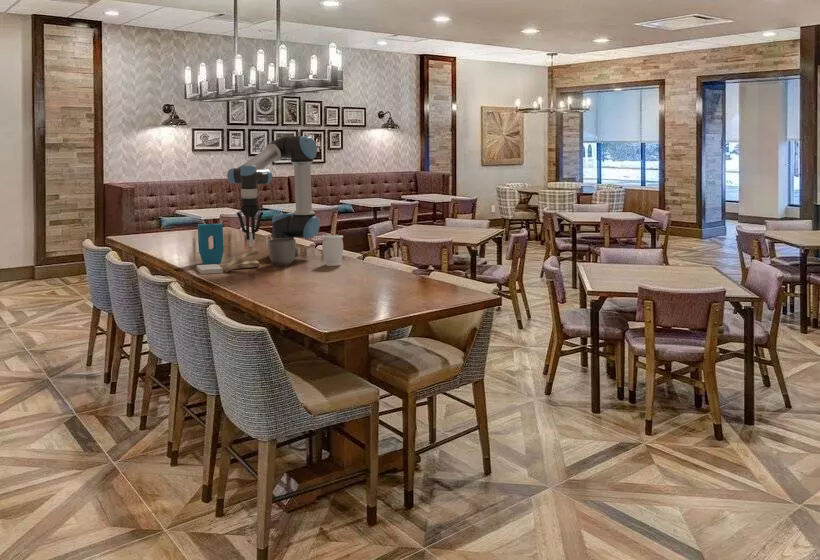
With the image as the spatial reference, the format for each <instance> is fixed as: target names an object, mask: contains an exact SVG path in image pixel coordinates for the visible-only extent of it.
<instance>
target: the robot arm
mask: <svg viewBox="0 0 820 560" xmlns="http://www.w3.org/2000/svg"><path fill="white" fill-rule="evenodd" d="M317 154H318V147H317V143H316V141H315V140H314V138H313V137H311V136H307V135H284V136H281V137H279V138H277V139H275V140H273V141H271V142H270V143H268V144H267V145H266V146H265V148H264V149H263V150H262V151H260V152H258V153H257V154H256V155H254V156H253V157H252V158H250V159H249V160H247V161H246V162H244V163H243V164H242V165H240V166H239V167H233V168H230V169H228V171H227V173H226V177H227V180H228V183H230V184H236V185H240V192H241V193H240V194H241V195H240V196H241V200H240V201H241V208H240V210H239V211H238V212H235V214H236V216H237V217H238V221H239V224H240V227H241V231H242V232H243V233H245V236H246V237H245V238H246V240H247V241H248V247H249V248H251V247H252V248H254V240H255V239H256V238H255V237H256V236H255V235H256V233H258V232H259V230H260V225H261V220H262V217H263V215H264V212H263V211H261V210H259V207H258V198H257V197H258V185H268V184H270V183H271V182H272V180H273V173H272V171H271V170H270V169H268V168H266V167H267V166H269V165H271V163H274V162H278V161H279V160H280V159H281V160H282V159H290V163H291V164H293V170H294V172H293V174H294V176H293V177H294V196H295V197H294V198H295V199H294V200H295V211H294V212H288V213H281V214H274V215H273V216H272V218H271V220H272V221H271V224H272V225H271V228H272V229H271V230H272V232H271V233H272V239H276V238H290V239H295V238H303V239H313V238H315V237H316V236H317V235H318V233H319V231H320V227H321V226H320V225H321V222H320V220H319V217H317V216H316V212H315V211H314V210H313V204H312V201H313V200H312V197H313V196H312V178H311V177H312V176H311V165H312V163H314V159H315V158H316V157H317ZM242 215H243V216H244V218H245V223H244V220H243V217H242ZM256 215H257V217H255V216H256ZM256 218H257V219H256ZM255 219H256V223H255ZM250 226H251V227H250ZM250 229H251V230H250ZM298 255H299V253H298V248H297V246H296V247H295V257H297V256H298Z"/></svg>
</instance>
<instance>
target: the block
mask: <svg viewBox="0 0 820 560" xmlns="http://www.w3.org/2000/svg"><path fill="white" fill-rule="evenodd" d="M210 237H212V242H213V244H212V245H213V246H212V248H210V247H209V239H210ZM197 241H198V242H197V243H198V253H199V256H200V258H201V259H200V260H201V262H202V265H211V264H218V265H219V264H222V259H223V255H224V251H225V250H224V249H225V248H224V246H225V245H224V224H223V223H205V224H204V223H202V224H201V223H200V224H197Z"/></svg>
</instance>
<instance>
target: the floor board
mask: <svg viewBox="0 0 820 560" xmlns="http://www.w3.org/2000/svg"><path fill="white" fill-rule="evenodd" d="M196 271H198V273H199V274H200V275H206V274H207V275H209V274H223V273H224V274H225V271H224V270H223V269H222V268H221V267H220V264H219V263H218V264H197V265H196Z"/></svg>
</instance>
